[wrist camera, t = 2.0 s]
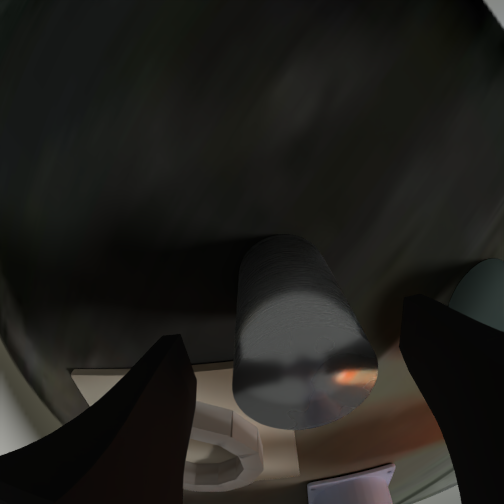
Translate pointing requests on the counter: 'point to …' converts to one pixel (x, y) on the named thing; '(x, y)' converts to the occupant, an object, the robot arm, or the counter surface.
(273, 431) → the board
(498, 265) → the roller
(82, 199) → the counter surface
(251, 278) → the steel pin
